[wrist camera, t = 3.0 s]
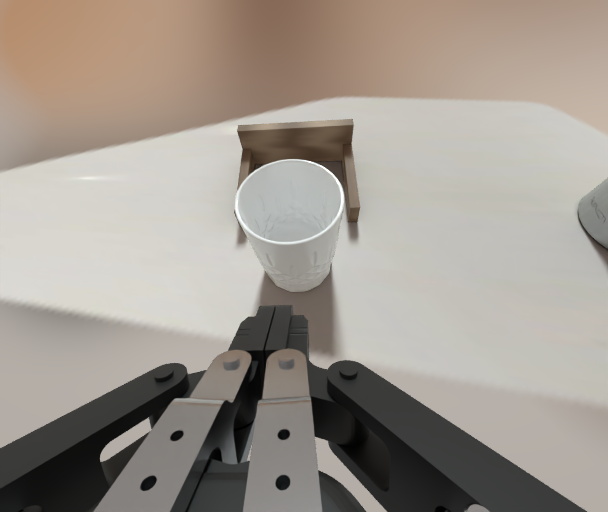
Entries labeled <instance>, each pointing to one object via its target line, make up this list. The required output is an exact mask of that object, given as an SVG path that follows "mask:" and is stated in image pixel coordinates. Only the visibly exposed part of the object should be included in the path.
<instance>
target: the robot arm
mask: <svg viewBox="0 0 608 512" xmlns="http://www.w3.org/2000/svg"><path fill="white" fill-rule="evenodd" d="M578 212H579V218H580V220H581V222H582V224H583V226H584V228H585V229H586V230H587V232H588V233H589V234H590V235H591V236H592V237H593V238H594V239H595V240H596V241H597V242H599V243H600V244H601V245H603V246H604V247H605V248H607V249H608V178H607V179H606V180H604V181H603V182H602V183H601V184H599V185H598V186H597V187H596V188H594V189H593V190H592V191H591V192H590V193H588V194H587V195H586V196H585V197H584V198H583V199H582V200H581V202H580V204H579V209H578ZM148 417H149V420H150V424H151V429H152V430H151V431H150V432H149V433H147V434H146V435H144V436H142V437H141V438H140V439H138V440H136V441H135V442H134V443H132V444H131V445H129V446H128V447H126V448H125V449H123V450H122V451H120V452H119V453H117V454H116V455H114V456H113V457H111V458H110V459H108V460H106V461H103V462H100V454H101V452H102V450H103V449H104V447H105V446H106V445H107V444H108V443H109V442H110V441H112V440H113V439H115V438H117V437H118V436H120V435H121V434H123V433H124V432H126V431H128V430H129V429H131V428H132V427H134V426H135V425H137V424H139V423H140V422H142V421H143V420H145V419H147V418H148ZM315 437H318V438H321V439H325V440H328V443H329V447H330V449H331V450H332V452H333V453H334V454H335V455H336V456H337V457H338V458H339V459H340V461H341V462H342V463H343V464H344V465H345V466H346V467H347V468H348V469H349V470H350V471H351V473H352V474H353V475H354V476H355V477H356V478H357V479H358V480H359V481H360V482H361V483H362V485H364V487H365V488H366V489H367V490H368V491H369V492H370V493H371V494H372V495H373V496H374V498H375V499H376V500H377V501H378V502H379V503H380V504H381V505H382V506H383V507H384V509H385V510H386V511H387V512H587V511H585V510H584V509H582V508H581V507H579V506H577V505H576V504H574V503H573V502H571V501H570V500H568V499H567V498H565V497H564V496H562V495H561V494H559V493H558V492H556V491H554V490H553V489H551V488H550V487H549V486H547V485H545V484H544V483H542V482H541V481H539V480H538V479H536V478H535V477H533V476H532V475H530V474H529V473H527V472H526V471H524V470H522V469H521V468H520V467H518V466H516V465H515V464H513V463H512V462H510V461H509V460H507V459H506V458H504V457H502V456H501V455H500V454H498V453H496V452H495V451H494V450H492V449H490V448H489V447H487V446H486V445H484V444H483V443H481V442H480V441H478V440H477V439H475V438H474V437H472V436H471V435H469V434H468V433H466V432H465V431H463V430H461V429H460V428H458V427H457V426H455V425H454V424H452V423H451V422H449V421H447V420H446V419H445V418H443V417H441V416H440V415H439V414H437V413H435V412H434V411H432V410H431V409H429V408H428V407H426V406H425V405H423V404H422V403H420V402H419V401H417V400H416V399H414V398H413V397H411V396H410V395H408V394H406V393H405V392H403V391H402V390H400V389H399V388H397V387H396V386H394V385H393V384H391V383H390V382H388V381H387V380H385V379H384V378H382V377H380V376H379V375H377V374H376V373H374V372H373V371H371V370H370V369H368V368H367V367H365V366H364V365H362V364H360V363H358V362H355V361H348V360H344V361H338V362H336V363H334V364H332V365H331V366H330V367H329V368H328V370H327V369H322V368H319V367H317V366H315V365H313V364H312V363H311V362H310V361H309V339H308V321H307V319H306V318H305V317H304V316H303V315H298V316H293V307H292V305H279V306H260V307H259V309H258V312H257V315H256V317H248V318H246V319H245V320H244V321H243V322H241V324H240V326H239V328H238V330H237V333H236V336H235V337H234V339H233V341H232V343H231V345H230V347H229V350H228V351H227V352H224V353H222V354H220V355H218V356H217V357H216V358H215V359H214V360H213V362H212V363H211V364H210V366H209V367H208V369H207V370H204V371H200V372H197V373H192V374H188V373H187V369H186V367H185V366H184V365H182V364H179V363H170V364H165V365H162V366H159V367H157V368H155V369H153V370H151V371H149V372H147V373H145V374H143V375H142V376H139V377H137V378H135V379H134V380H132V381H130V382H128V383H126V384H124V385H122V386H120V387H118V388H116V389H114V390H112V391H111V392H108V393H106V394H105V395H103V396H101V397H99V398H97V399H95V400H93V401H91V402H89V403H87V404H85V405H83V406H81V407H79V408H78V409H76V410H74V411H72V412H70V413H68V414H66V415H64V416H62V417H60V418H58V419H56V420H54V421H52V422H50V423H49V424H46V425H45V426H43V427H41V428H39V429H37V430H35V431H33V432H31V433H29V434H27V435H25V436H23V437H21V438H20V439H17V440H16V441H14V442H12V443H10V444H8V445H6V446H4V447H2V448H0V512H366V511H365V510H364V508H363V507H362V506H361V505H360V503H359V502H358V501H357V500H356V498H355V497H354V496H353V495H352V494H351V493H350V492H349V491H348V490H347V489H346V488H345V487H344V486H343V485H342V484H341V483H339V482H338V481H337V480H335V479H334V478H332V477H331V476H329V475H327V474H325V473H323V472H321V471H319V470H318V464H317V454H316V444H315ZM251 444H252V449H251V456H250V461H247V458H248V454H249V451H250V448H251Z"/></svg>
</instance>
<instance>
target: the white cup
mask: <svg viewBox="0 0 608 512" xmlns="http://www.w3.org/2000/svg"><path fill="white" fill-rule="evenodd" d="M343 208H344V192H343V188H342V186H341V184H340V182H339V180H338V179H337V178H336V176H335V175H334V174H333V173H332V172H330V171H329V170H328V169H326V168H325V167H323V166H321V165H319V164H317V163H314V162H311V161H306V160H299V159H287V160H280V161H275V162H272V163H269V164H266V165H264V166H262V167H260V168H258V169H257V170H255V171H254V172H253V173H251V174H250V175H249V176H248V177H247V178H246V179H245V180H244V181H243V183H242V184H241V186H240V187H239V189H238V191H237V194H236V198H235V213H236V216H237V219H238V221H239V223H240V225H241V227H242V229H243V231H244V233H245V235H246V236H247V238H248V240H249V242H250V244H251V246H252V248H253V250H254V252H255V254H256V256H257V258H258V259H259V261H260V263H261V265H262V266H263V268H264V269H265V271H266V273H267V275H268V276H269V277H270V278H271V280H272V281H273V282H274V283H275V284H276V286H278V287H280V288H283V289H285V290H287V291H290V292H306V291H308V290H310V289H312V288H314V287H317V286H319V285H320V284H321V283H322V282H323V280H324V279H325V278H326V277H327V275H328V274H329V271H330V266H331V261H332V259H333V257H334V253H335V249H336V244H337V240H338V235H339V229H340V223H341V218H342V213H343Z"/></svg>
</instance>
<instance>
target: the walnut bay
mask: <svg viewBox="0 0 608 512" xmlns="http://www.w3.org/2000/svg"><path fill="white" fill-rule="evenodd" d="M353 126H354V124H353V119H345V120H327V121H309V122H291V123H272V124H254V125H238V130H237V132H238V135H239V138H240V142H241V145H242V148H243V151H242V158H241V166H240V173H239V181H238V188H237V191H238V189H239V187H240V186H241V184H242V183H243V181H244V180H245V179H246V178H247V177H248V176H249V175H250V174H251V173H253V172H254V171H255V165H260V164H269V163H272V162H275V161H280V160H287V159H299V160H306V161H311V162H321V161H342V169H343V178H344V188H345V197H346V206H347V216H348V222H357V221H358V216H359V210H360V203H359V196H358V188H357V181H356V174H355V166H354V159H353V151H352V144H351V143H352V134H353ZM234 213H235V211H234ZM235 216H236V213H235ZM236 218H237V216H236ZM237 220H238V219H237ZM238 222H239V221H238ZM239 225H240V223H239ZM240 226H241V225H240Z"/></svg>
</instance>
